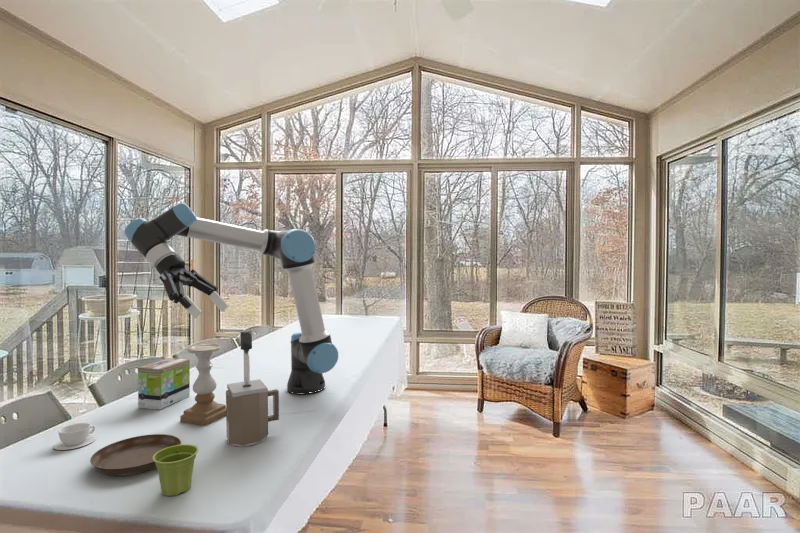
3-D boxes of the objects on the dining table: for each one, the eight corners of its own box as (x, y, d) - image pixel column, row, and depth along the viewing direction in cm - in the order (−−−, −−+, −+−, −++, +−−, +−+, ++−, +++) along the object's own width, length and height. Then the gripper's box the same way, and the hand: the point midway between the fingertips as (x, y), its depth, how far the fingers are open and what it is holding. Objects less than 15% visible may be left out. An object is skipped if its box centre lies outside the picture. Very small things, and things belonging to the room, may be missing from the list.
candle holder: (229, 413, 148) (228, 344, 147) (205, 425, 137) (204, 351, 136) (204, 409, 151) (203, 342, 150) (179, 421, 141) (177, 349, 140)
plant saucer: (147, 439, 128) (146, 428, 128) (198, 451, 120) (198, 439, 120) (71, 471, 109) (71, 459, 109) (126, 489, 101) (126, 475, 101)
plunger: (258, 398, 134) (257, 328, 133) (265, 406, 126) (264, 332, 126) (229, 403, 129) (228, 330, 129) (234, 412, 122) (233, 335, 121)
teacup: (62, 454, 118) (61, 438, 118) (47, 446, 124) (46, 430, 123) (102, 441, 127) (102, 425, 127) (86, 433, 132) (86, 418, 132)
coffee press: (273, 425, 138) (273, 376, 137) (283, 438, 128) (282, 386, 127) (224, 435, 130) (223, 383, 130) (231, 450, 121) (230, 394, 120)
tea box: (161, 410, 151) (161, 368, 150) (137, 408, 153) (136, 367, 152) (190, 396, 166) (190, 358, 165) (168, 394, 168) (167, 357, 167)
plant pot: (164, 479, 105) (164, 444, 105) (204, 477, 106) (204, 443, 106) (145, 501, 96) (144, 463, 95) (189, 499, 97) (188, 461, 96)
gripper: (185, 268, 143) (227, 314, 141) (126, 272, 119) (176, 327, 117) (199, 252, 142) (242, 298, 140) (143, 253, 118) (193, 308, 116)
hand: (212, 311), depth 129 cm, fingers open, 13 cm apart
